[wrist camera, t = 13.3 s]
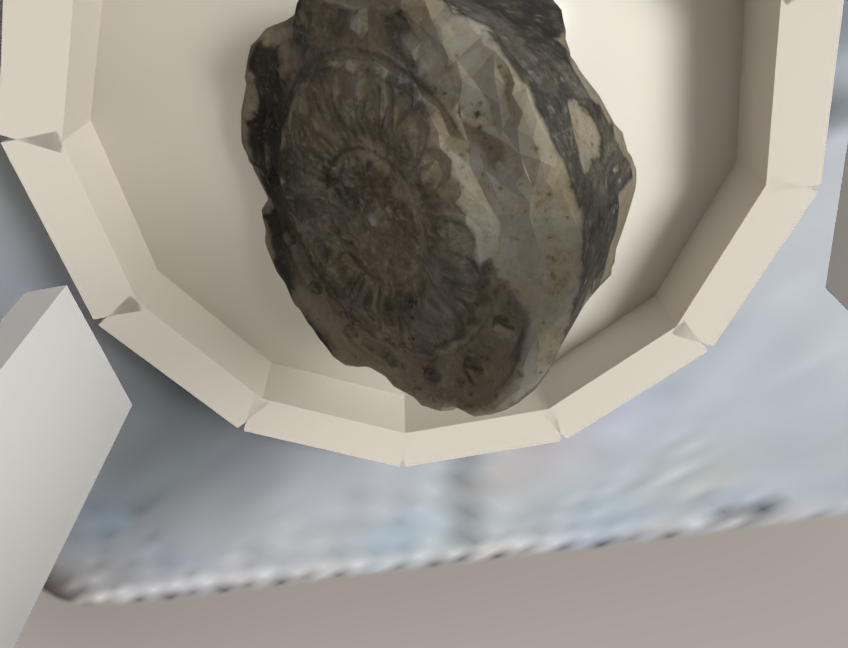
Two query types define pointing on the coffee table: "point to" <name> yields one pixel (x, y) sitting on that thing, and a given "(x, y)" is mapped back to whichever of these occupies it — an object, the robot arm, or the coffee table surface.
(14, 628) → the robot arm
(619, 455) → the coffee table surface
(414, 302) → the fossil
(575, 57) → the round tray
